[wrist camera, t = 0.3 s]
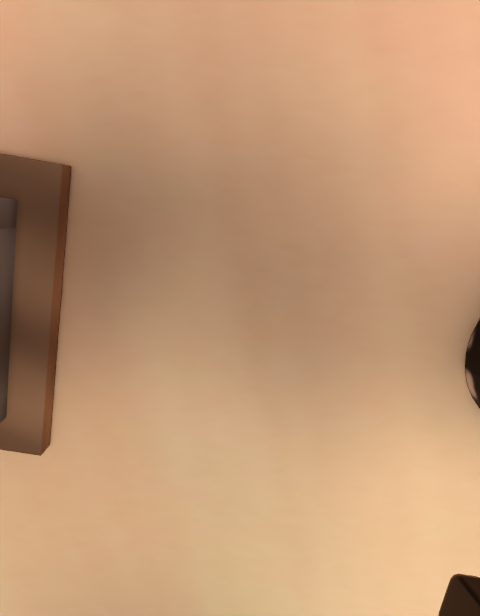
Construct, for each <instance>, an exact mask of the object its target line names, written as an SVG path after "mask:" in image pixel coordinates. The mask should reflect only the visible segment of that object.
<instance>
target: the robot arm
mask: <svg viewBox="0 0 480 616" xmlns="http://www.w3.org/2000/svg"><path fill="white" fill-rule="evenodd" d="M439 616H480V578H479V577H476V576H470V575H463V574H455V575H454V576H453V577H452V578H451V579H450V582H449V585H448V588H447V590H446V593H445V596H444V599H443V602H442V605H441V608H440V611H439Z"/></svg>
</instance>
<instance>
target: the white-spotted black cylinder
mask: <svg viewBox="0 0 480 616" xmlns="http://www.w3.org/2000/svg"><path fill="white" fill-rule="evenodd" d="M465 370H466V378H467V384H468V387H469V389H470V392H471V395H472V397H473V399H474V400H475V402H476V403H477V405H478V406H479V408H480V321H479V323H478V324H477V326H476V328H475V330H474V332H473V334H472V336H471V339H470V342H469V346H468V349H467V354H466V365H465Z"/></svg>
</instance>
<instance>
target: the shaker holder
mask: <svg viewBox="0 0 480 616" xmlns="http://www.w3.org/2000/svg"><path fill="white" fill-rule="evenodd" d="M70 176H71V166H67V165H62V164H57V163H51V162H45V161H40V160H34V159H28V158H23V157H17V156H11V155H6V154H0V449H1V450H7V451H14V452H21V453H27V454H34V455H40V456H41V455H42V454H43V452H44V451H45V450H46V449H47V448H48V446H49V445H50V434H51V421H52V408H53V395H54V382H55V369H56V357H57V344H58V331H59V318H60V305H61V292H62V279H63V266H64V253H65V240H66V227H67V215H68V202H69V189H70Z"/></svg>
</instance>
